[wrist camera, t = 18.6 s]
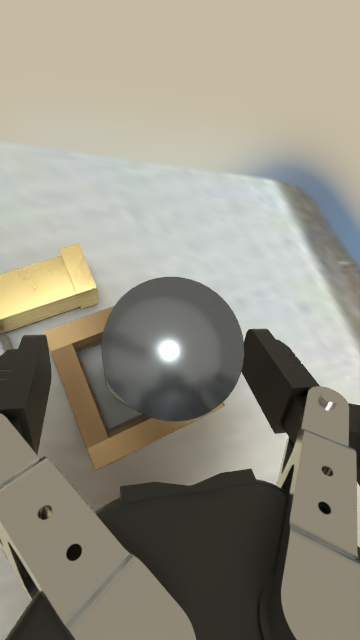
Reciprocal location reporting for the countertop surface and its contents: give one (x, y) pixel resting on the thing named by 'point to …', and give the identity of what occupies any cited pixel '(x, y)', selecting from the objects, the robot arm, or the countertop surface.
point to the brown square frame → (83, 402)
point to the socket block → (4, 344)
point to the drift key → (46, 289)
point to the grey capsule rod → (172, 349)
